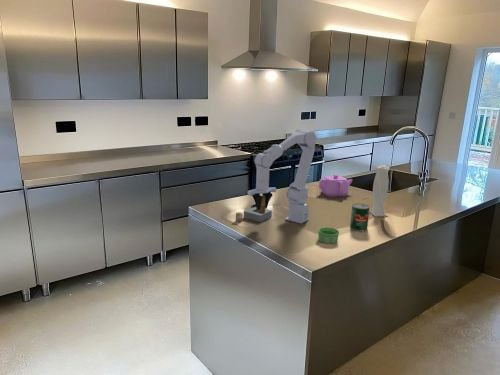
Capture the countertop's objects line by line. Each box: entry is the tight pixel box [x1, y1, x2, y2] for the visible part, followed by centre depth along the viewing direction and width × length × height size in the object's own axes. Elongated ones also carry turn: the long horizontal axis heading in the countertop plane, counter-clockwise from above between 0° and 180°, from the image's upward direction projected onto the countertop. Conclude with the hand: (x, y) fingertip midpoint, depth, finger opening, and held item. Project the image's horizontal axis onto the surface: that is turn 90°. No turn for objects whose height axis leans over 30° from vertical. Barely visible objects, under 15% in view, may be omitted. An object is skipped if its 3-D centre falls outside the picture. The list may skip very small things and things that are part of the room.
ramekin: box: [317, 226, 340, 245], centre depth 160 cm, size 9×9×4 cm
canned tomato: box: [349, 202, 371, 232], centre depth 174 cm, size 8×8×11 cm
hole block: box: [243, 207, 273, 223], centre depth 186 cm, size 10×10×4 cm
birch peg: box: [235, 211, 244, 223], centre depth 180 cm, size 3×3×4 cm
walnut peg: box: [258, 195, 266, 214], centre depth 171 cm, size 3×3×8 cm
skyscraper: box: [369, 163, 391, 218], centre depth 191 cm, size 8×8×28 cm
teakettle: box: [318, 174, 353, 198], centre depth 231 cm, size 17×17×12 cm
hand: (261, 208), depth 171 cm, fingers closed on walnut peg, 3 cm apart
